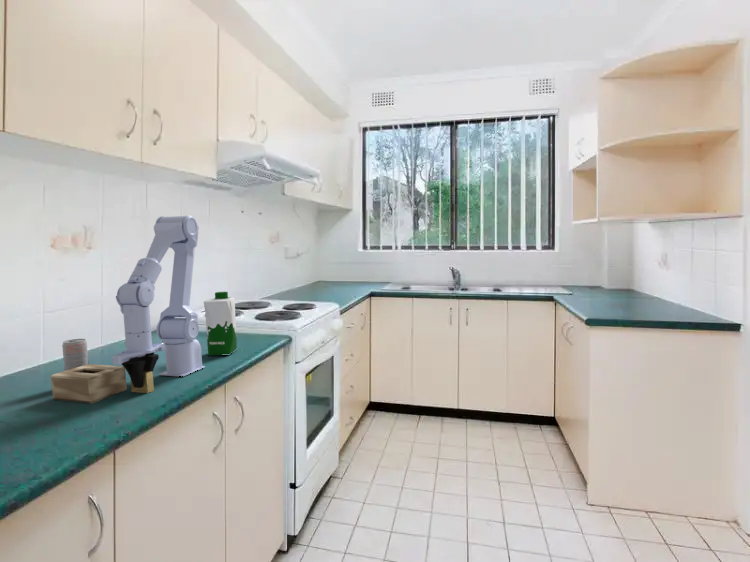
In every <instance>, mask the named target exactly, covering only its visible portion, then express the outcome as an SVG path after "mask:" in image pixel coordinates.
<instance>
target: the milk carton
mask: <svg viewBox="0 0 750 562" xmlns="http://www.w3.org/2000/svg"><path fill="white" fill-rule="evenodd" d="M203 307H204V311H205V328H206V329H205V330H206V343H207V345H206V346H207V356H208V355H222V354H230V353H231V352H233V351H234V350H235V349H236V348H238V347H237V346H238V345H237V344H238V339H237V323H236V322H237V321H236V320H237V318H236V298H235V297H229V293H228V291H216V292H215V293H214V297H212V298H210V299H206V300H204V301H203Z"/></svg>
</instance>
